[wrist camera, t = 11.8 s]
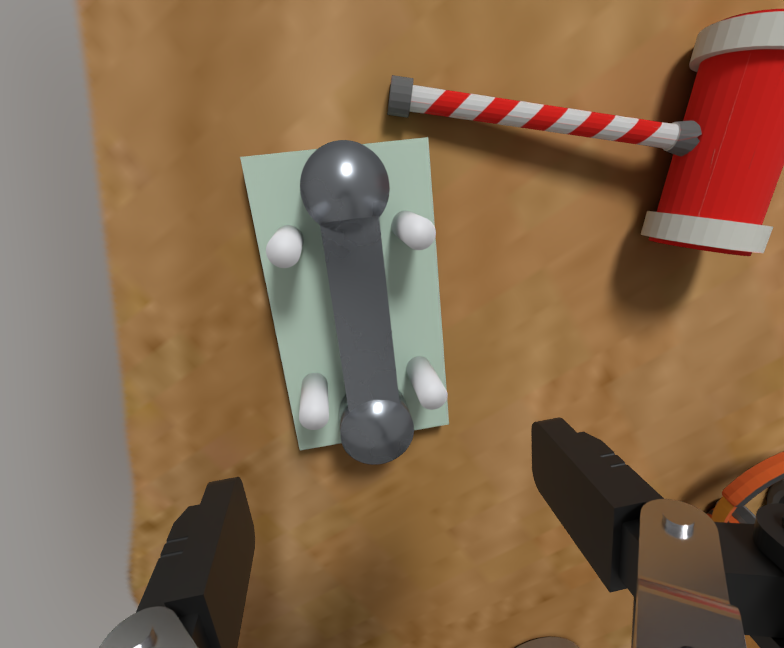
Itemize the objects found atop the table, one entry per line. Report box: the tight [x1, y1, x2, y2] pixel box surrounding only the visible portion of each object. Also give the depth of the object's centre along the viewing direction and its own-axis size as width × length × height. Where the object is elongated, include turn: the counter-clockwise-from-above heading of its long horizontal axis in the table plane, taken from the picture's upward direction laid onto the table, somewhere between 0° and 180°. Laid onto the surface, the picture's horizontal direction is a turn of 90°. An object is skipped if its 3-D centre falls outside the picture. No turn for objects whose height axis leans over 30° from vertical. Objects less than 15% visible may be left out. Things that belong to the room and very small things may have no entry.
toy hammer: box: [387, 9, 784, 256], centre depth 24 cm, size 23×12×6 cm, turn 83°
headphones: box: [707, 451, 784, 524], centre depth 38 cm, size 17×5×20 cm
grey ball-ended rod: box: [300, 140, 414, 464], centre depth 26 cm, size 18×4×3 cm, turn 6°
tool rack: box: [240, 137, 449, 450], centre depth 26 cm, size 18×10×6 cm, turn 6°
